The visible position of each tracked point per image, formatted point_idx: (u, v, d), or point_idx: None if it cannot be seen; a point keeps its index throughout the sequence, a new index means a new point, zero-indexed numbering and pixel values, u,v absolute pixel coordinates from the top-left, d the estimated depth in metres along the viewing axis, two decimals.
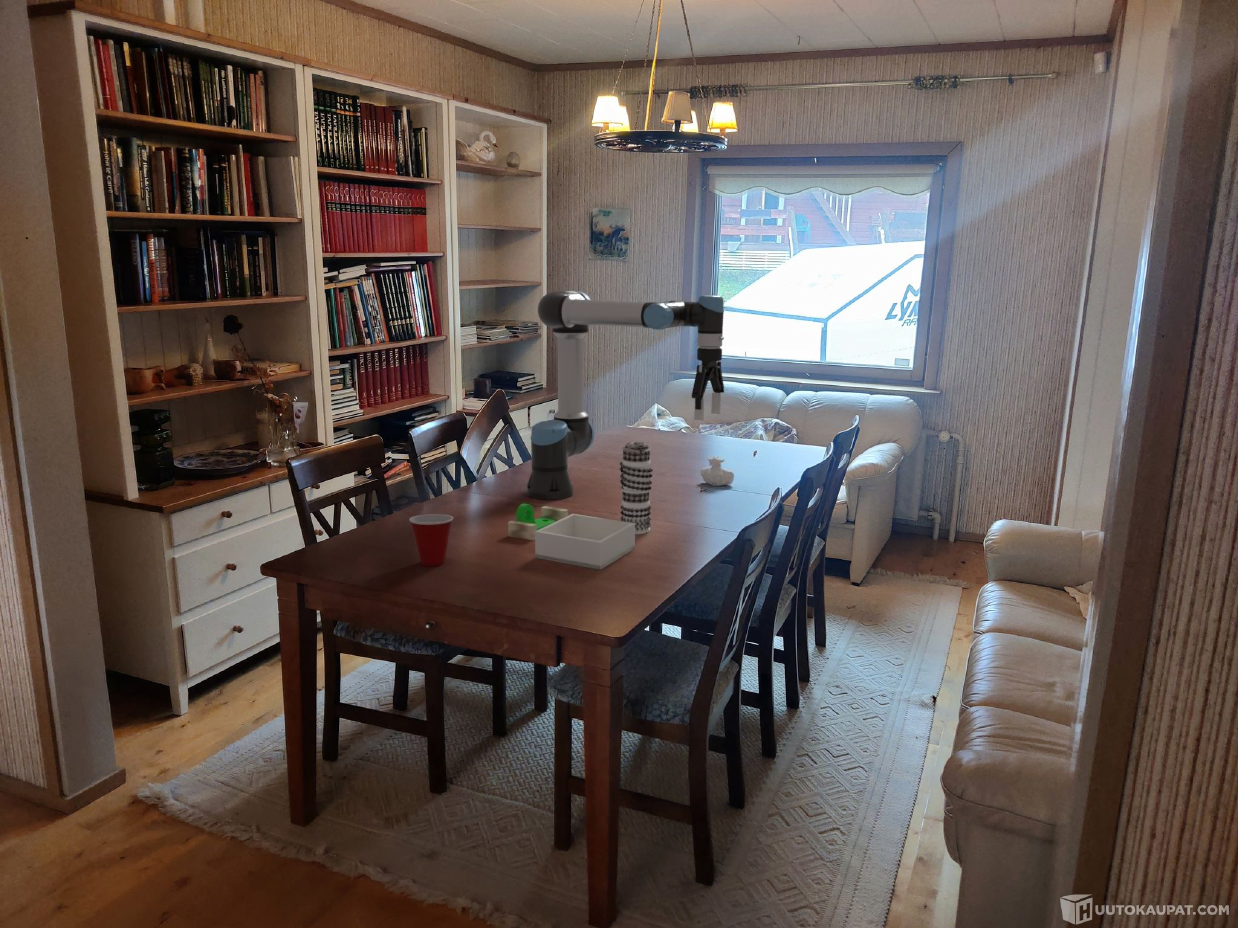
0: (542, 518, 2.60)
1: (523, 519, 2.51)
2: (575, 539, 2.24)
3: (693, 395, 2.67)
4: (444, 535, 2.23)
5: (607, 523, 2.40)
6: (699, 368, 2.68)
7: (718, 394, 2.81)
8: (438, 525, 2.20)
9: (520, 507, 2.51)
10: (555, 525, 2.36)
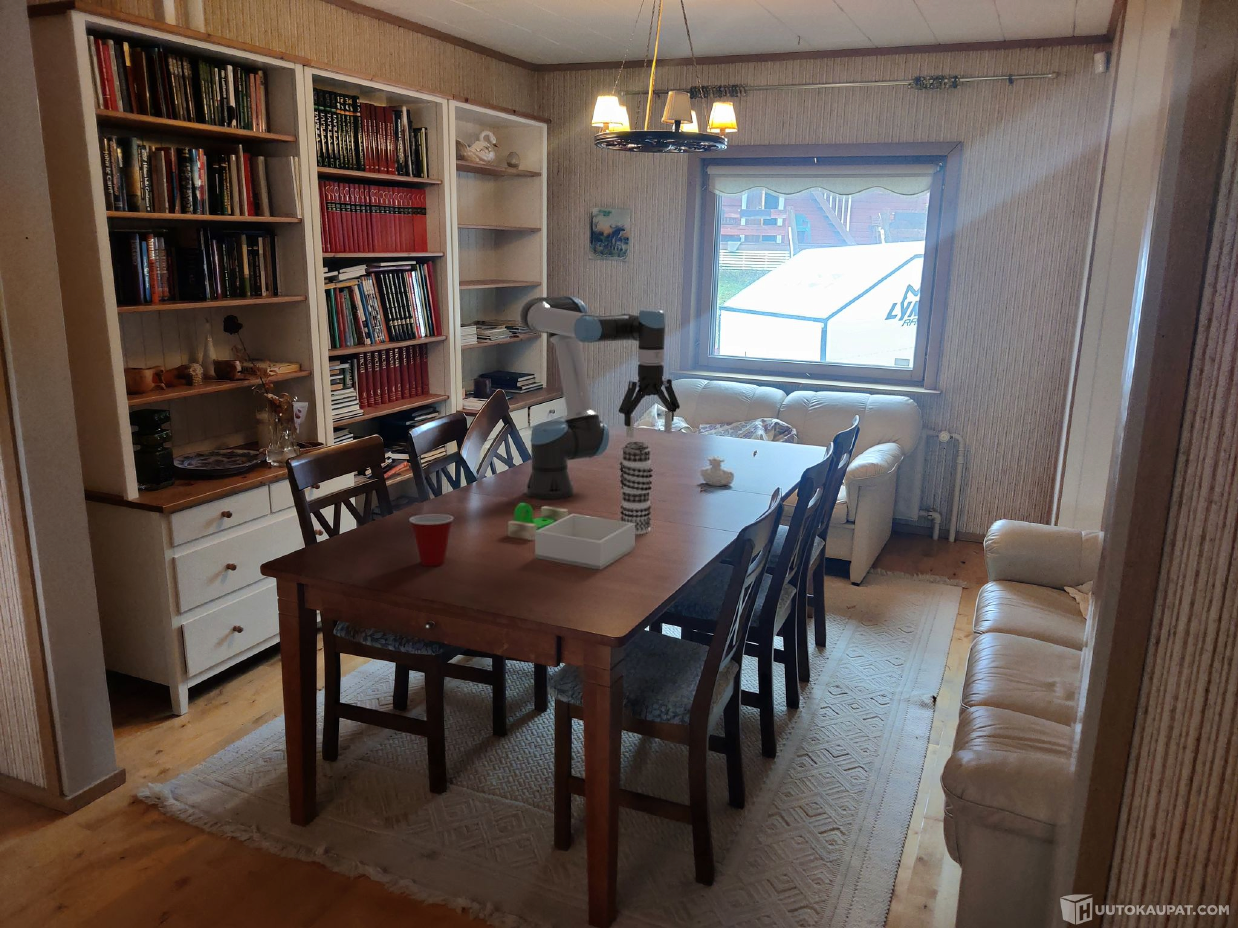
0: (542, 518, 2.60)
1: (521, 518, 2.51)
2: (575, 539, 2.24)
3: (619, 411, 2.61)
4: (444, 535, 2.23)
5: (607, 523, 2.40)
6: (630, 384, 2.61)
7: (669, 413, 2.69)
8: (438, 525, 2.20)
9: (518, 506, 2.52)
10: (555, 525, 2.36)
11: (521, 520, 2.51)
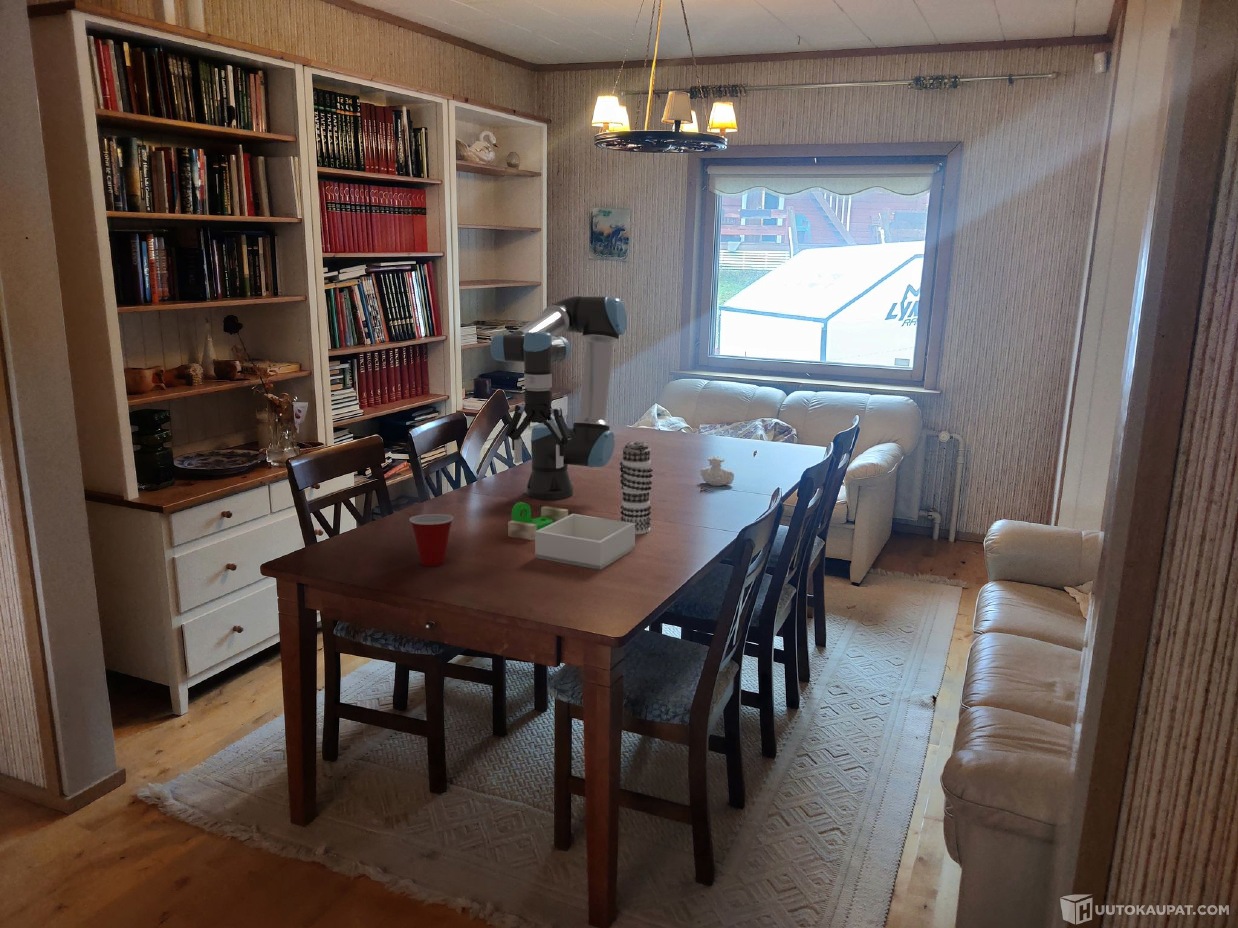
0: (541, 517, 2.60)
1: (518, 517, 2.52)
2: (575, 539, 2.24)
3: None
4: (444, 535, 2.23)
5: (607, 523, 2.40)
6: None
7: None
8: (438, 525, 2.20)
9: (515, 505, 2.52)
10: (555, 525, 2.36)
11: (518, 519, 2.52)
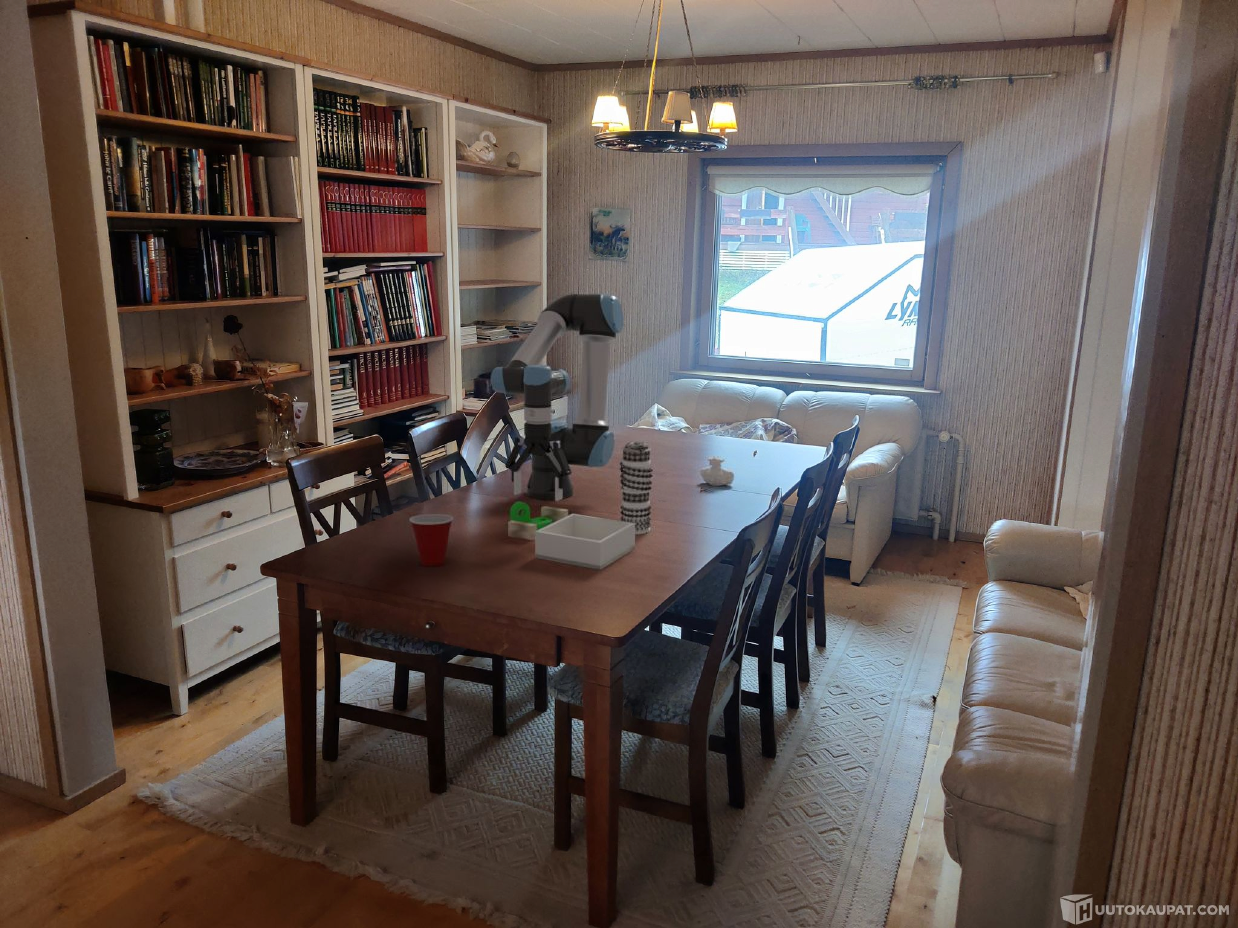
0: (541, 517, 2.61)
1: (516, 517, 2.53)
2: (575, 539, 2.24)
3: None
4: (444, 535, 2.23)
5: (607, 523, 2.40)
6: None
7: None
8: (438, 525, 2.20)
9: (514, 505, 2.53)
10: (555, 525, 2.36)
11: (516, 519, 2.53)
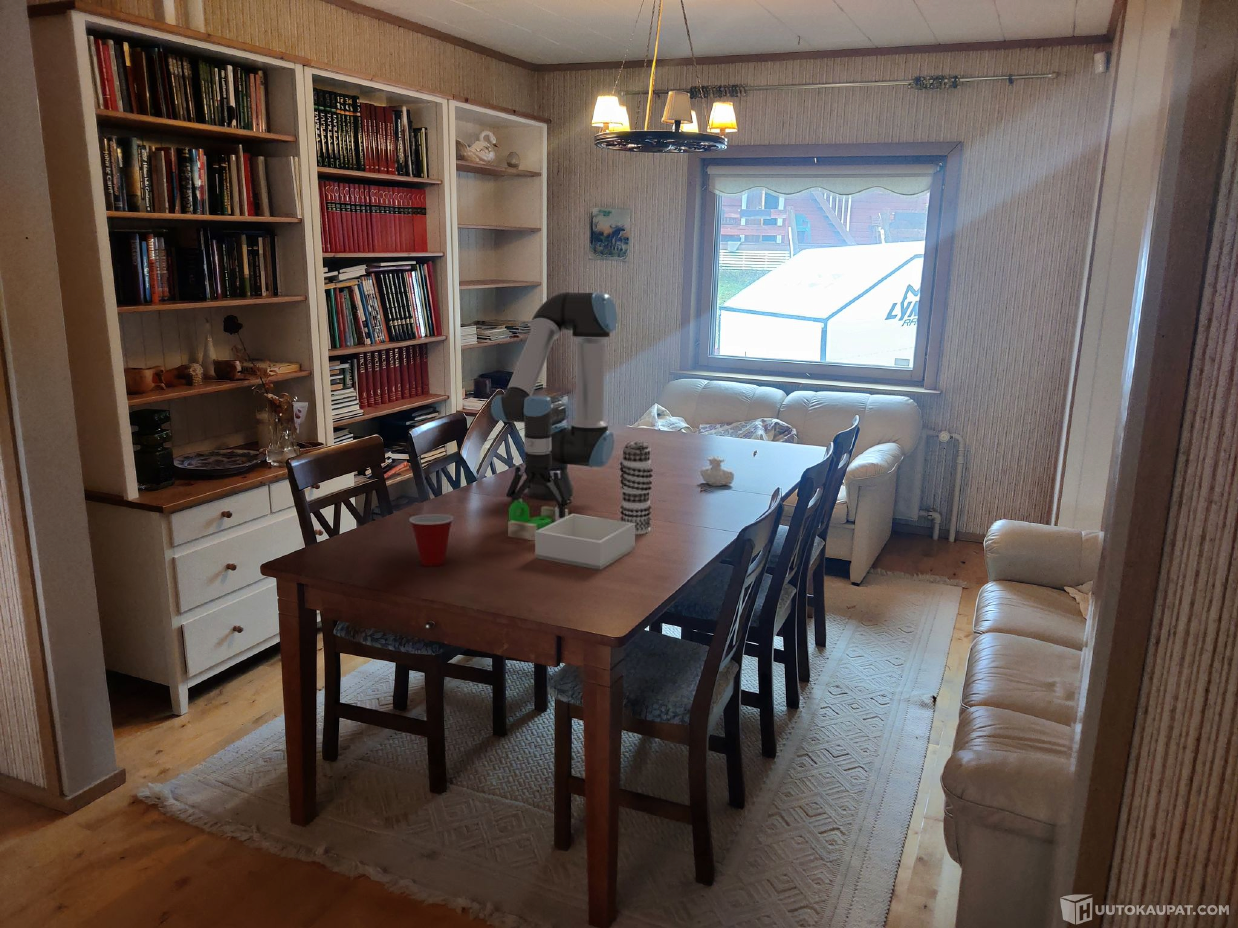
0: (541, 517, 2.61)
1: (515, 516, 2.53)
2: (575, 539, 2.24)
3: None
4: (444, 535, 2.23)
5: (607, 523, 2.40)
6: None
7: None
8: (438, 525, 2.20)
9: (513, 504, 2.54)
10: (555, 525, 2.36)
11: (515, 518, 2.53)
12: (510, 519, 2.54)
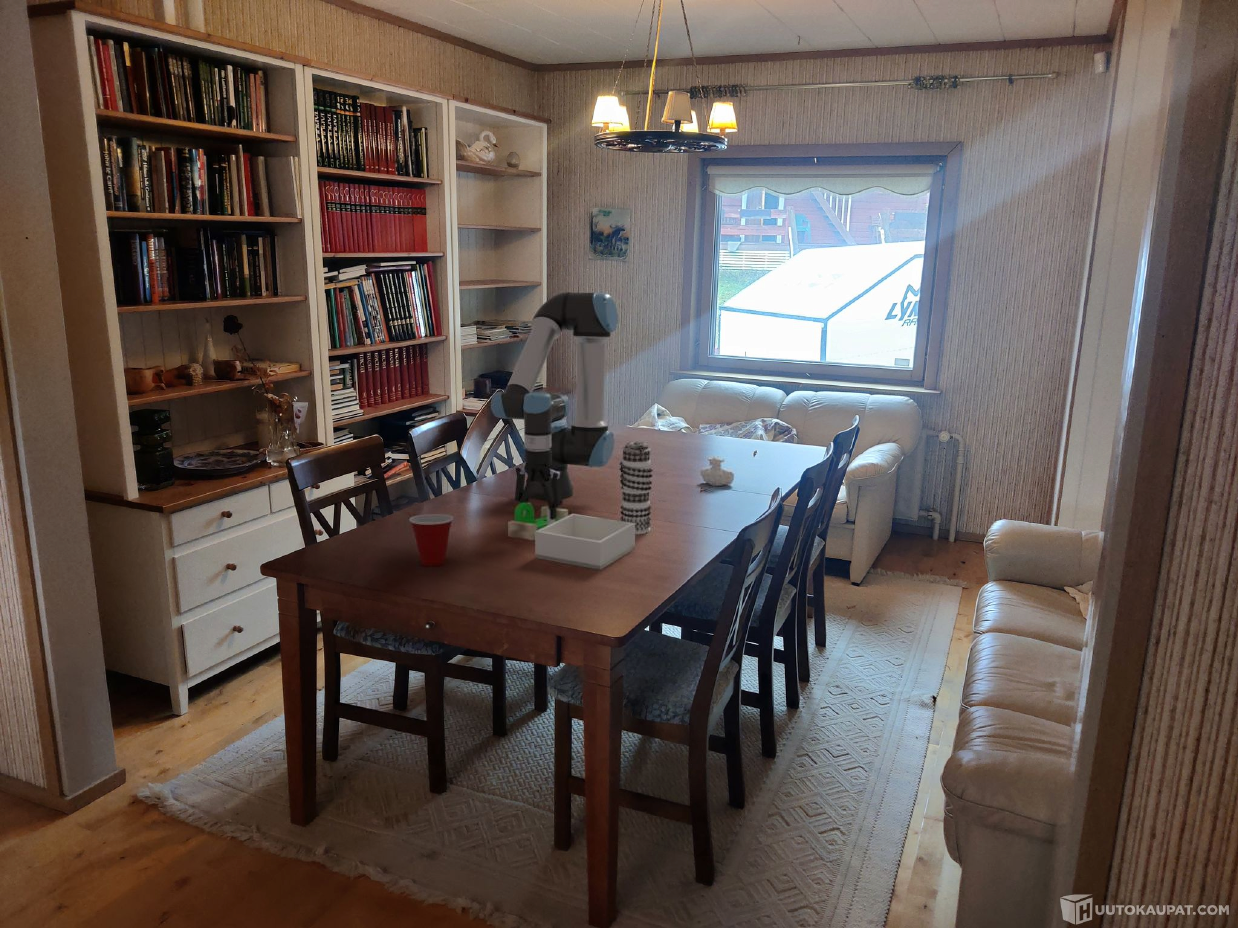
0: (544, 518, 2.59)
1: (521, 518, 2.51)
2: (575, 539, 2.24)
3: None
4: (444, 535, 2.23)
5: (607, 523, 2.40)
6: None
7: None
8: (438, 525, 2.20)
9: (518, 506, 2.51)
10: (555, 525, 2.36)
11: (521, 519, 2.51)
12: None
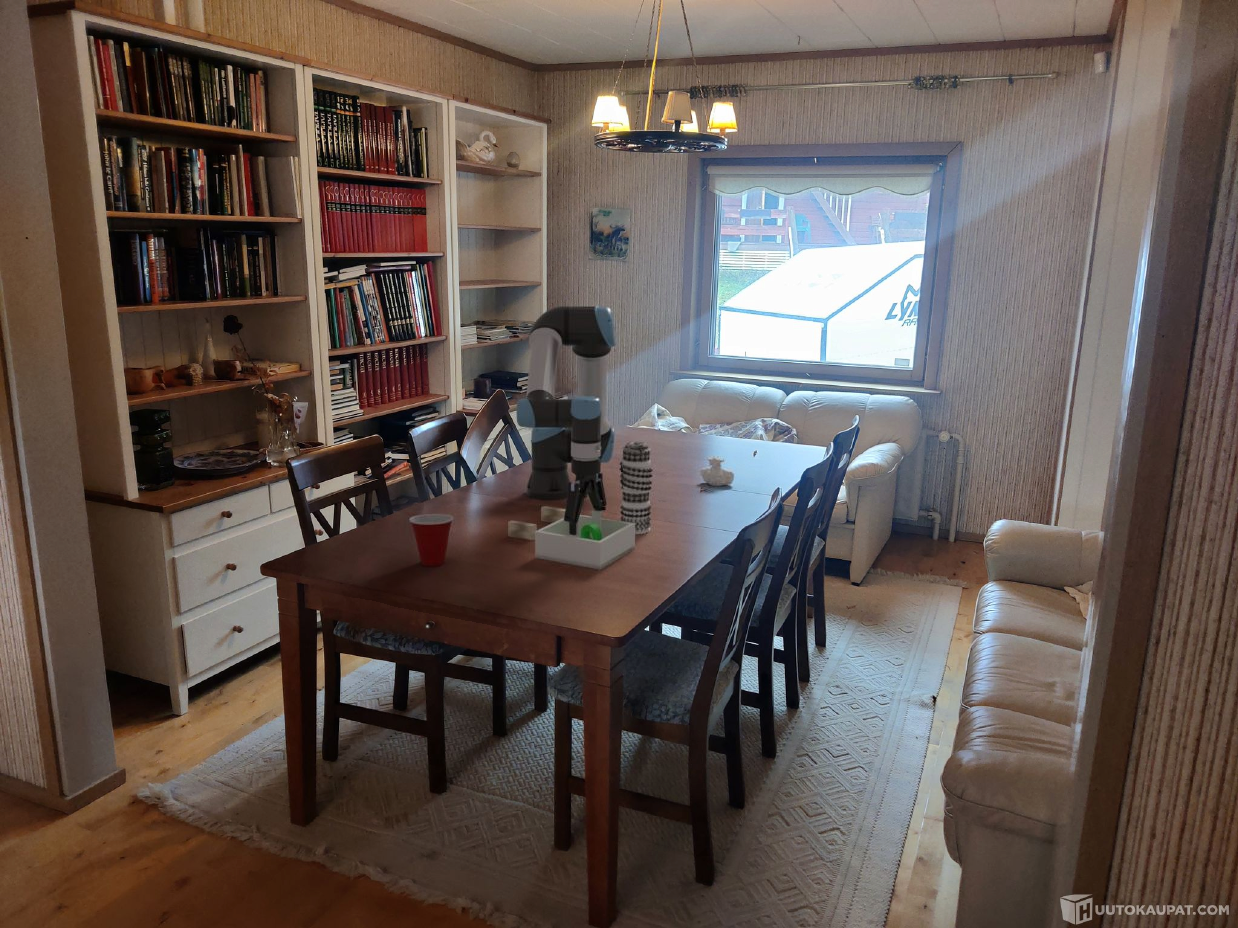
0: None
1: None
2: (575, 539, 2.24)
3: (565, 519, 2.25)
4: (444, 535, 2.23)
5: (607, 523, 2.40)
6: (571, 486, 2.25)
7: (598, 513, 2.37)
8: (438, 525, 2.20)
9: (595, 528, 2.28)
10: (555, 525, 2.36)
11: None
12: None
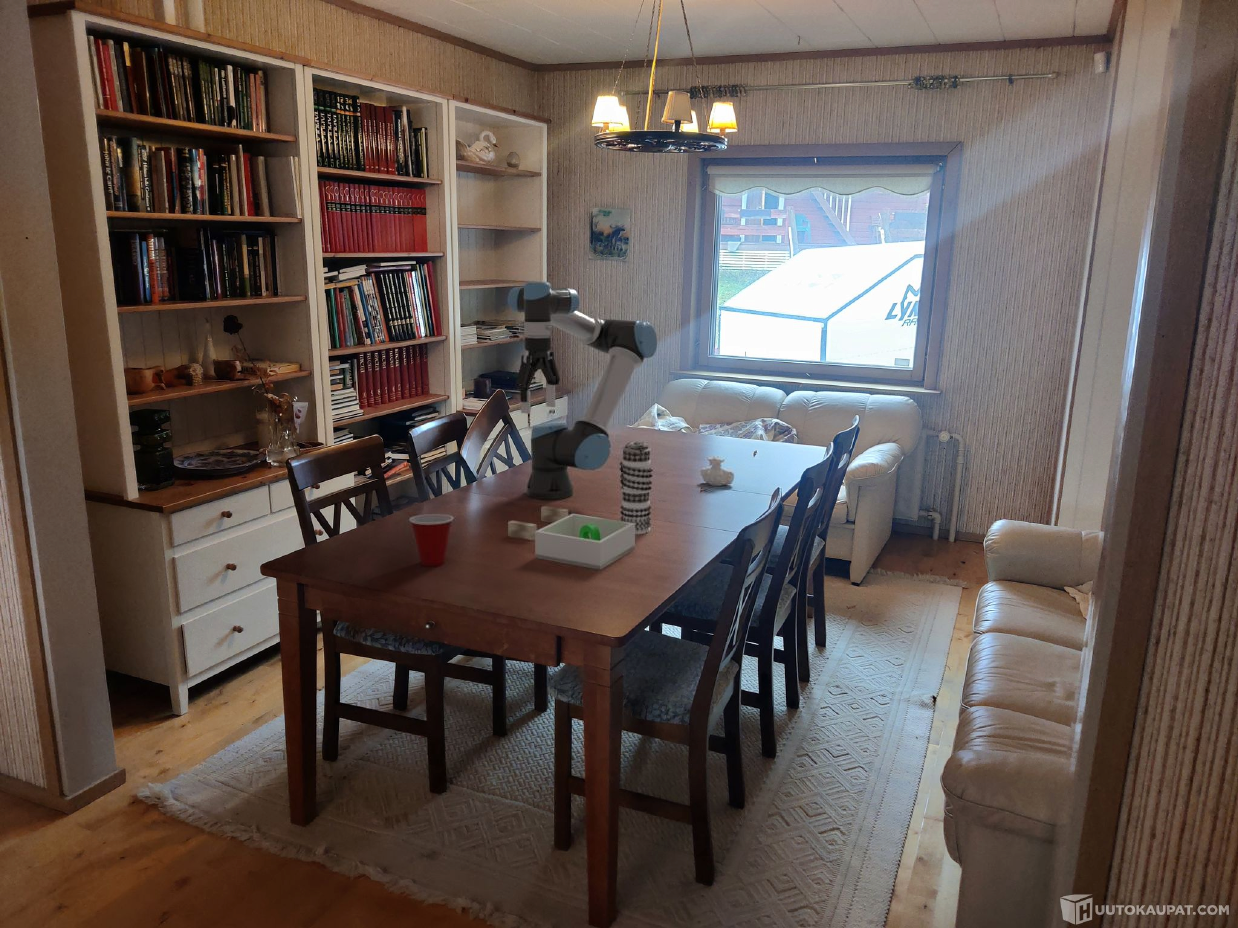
0: None
1: None
2: (575, 539, 2.24)
3: (517, 387, 2.53)
4: (444, 535, 2.23)
5: (607, 523, 2.40)
6: (524, 358, 2.54)
7: (552, 386, 2.67)
8: (438, 525, 2.20)
9: (593, 528, 2.28)
10: (555, 525, 2.36)
11: None
12: None
